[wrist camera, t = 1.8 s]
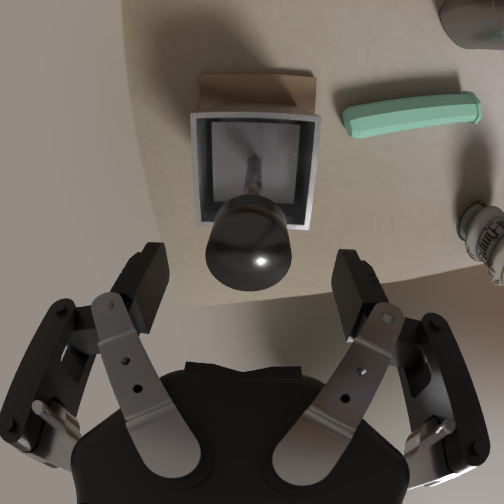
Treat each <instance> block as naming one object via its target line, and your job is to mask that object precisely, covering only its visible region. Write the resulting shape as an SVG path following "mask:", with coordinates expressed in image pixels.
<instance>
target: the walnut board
mask: <svg viewBox="0 0 504 504" xmlns="http://www.w3.org/2000/svg"><path fill="white" fill-rule="evenodd" d="M316 79H317V78H313V77H304V76H294V75H281V74H261V73H219V74H200V109H203V108H206V107H207V106H212V105H214V104H217V103H256V104H279V105H293V106H299V107H301V108H303V109H305V110H308V111H310V112H312V113H314V111H315V96H316Z"/></svg>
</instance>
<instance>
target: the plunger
mask: <svg viewBox="0 0 504 504" xmlns="http://www.w3.org/2000/svg"><path fill="white" fill-rule="evenodd" d="M299 134H300V125H299V124H288V123H271V122H212V162H213V193H214V201H227V202H226V203H225V204H224V205H223V206H222V207H221V208H220V209H219V211H218V213H217V215H216V218H215V221H214V224H213V228H212V231H211V234H210V237H209V241H208V244H207V247H206V253H205V254H206V263H207V266H208V268H209V270H210V272H211V273H212V275H213V276H214V277H215V278H216V279H217V280H218V281H219V282H221V283H222V284H224V285H226V286H228V287H230V288H232V289H236V290H240V291H259V290H263V289H267V288H269V287H271V286H273V285H275V284H277V283H278V282H279V281H280V280H281V279H282V278H283V277H284V276H285V275H286V274H287V272H288V270H289V268H290V265H291V260H292V254H291V247H290V241H289V235H288V229H287V224H286V219H285V216H284V214H283V212H282V210H281V209H280V208H279V206H278V205H277V204H276V203H287V204H294V194H295V183H296V172H297V160H298V148H299Z"/></svg>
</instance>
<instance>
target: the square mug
mask: <svg viewBox="0 0 504 504" xmlns="http://www.w3.org/2000/svg"><path fill="white" fill-rule="evenodd" d="M190 122H191V149H192V169H193V185H194V200H195V213H196V225H197V226H212V227H213V224H214V221H215V218H216V215H217V213H218V211H219V209H220V208H221V207H222V206H223V205H224V204H225V203H226V202H227V201H214V193H213V162H212V122H271V123H288V124H299V125H300V134H299V148H298V160H297V172H296V183H295V194H294V204H287V203H276V204H277V205H278V206H279V208H280V209H281V210H282V212H283V214H284V216H285V219H286V224H287V229H300V230H309V225H310V218H311V210H312V203H313V195H314V187H315V178H316V169H317V160H318V150H319V140H320V129H321V116H318V115H316V114H314V113H312V112H310V111H308V110H305V109H303V108H301V107H299V106H293V105H279V104H256V103H217V104H214V105H212V106H207V107H206V108H203V109H200V110H197V111H195V112H192V113H190Z"/></svg>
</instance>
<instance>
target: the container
mask: <svg viewBox="0 0 504 504" xmlns="http://www.w3.org/2000/svg"><path fill="white" fill-rule="evenodd" d="M481 117H482V110H481V103H480V101H479V100H478V98H477V97H476V95H475V94H474V93H473V92H469V91H462V93H461V94H442V95H428V96H418V97H409V98H400V99H393V100H386V101H379V102H373V103H367V104H361V105H356V106H351V107H348V108H347V109H345V110H344V111H343V122H344V126H345V128H346V130H347V132H348V134H349V135H350V136H351V137H354V138H359V139H361V138H366V137H370V136H375V135H381V134H386V133H391V132H397V131H402V130H408V129H414V128H421V127H428V126H435V125H442V124H450V123H459V122H471V123H474V124H476V123H478V122H479V120H480V119H481Z"/></svg>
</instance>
